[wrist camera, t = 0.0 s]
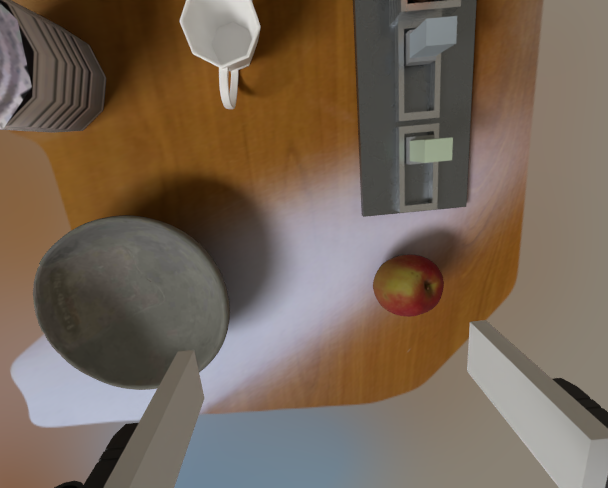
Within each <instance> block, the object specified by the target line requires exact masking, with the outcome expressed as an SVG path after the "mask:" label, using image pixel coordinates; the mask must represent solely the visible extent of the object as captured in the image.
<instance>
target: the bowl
mask: <svg viewBox="0 0 608 488" xmlns="http://www.w3.org/2000/svg"><path fill="white" fill-rule="evenodd" d="M39 264H40V266H39V267H38V269H37V273H36V276H35V280H34V288H33V298H34V307H35V313H36V316H37V319H38V323H39V326H40V327H41V330H42V331H43V332H44V333H45V336H46V338H47V340H48V341H49V343H50V344H51V345H52V347H53V348H54V349H55V350H56V351H57V352H58V353H59V354H60V355H61V356H62V357H63V358H64V359H65V360H66V361H67V362H68V363H69V364H71V365H72V366H73V367H75V368H76V369H78V370H79V371H81V372H83V373H84V374H86V375H88V376H90V377H92V378H94V379H97V380H99V381H101V382H104V383H107V384H109V385H112V386H116V387H121V388H126V389H137V390H145V389H156V388H158V387H159V385H160V383H161V381H162V380H163V378H164V376H165V374H166V372H167V370H168V369H169V367H170V365H171V363H172V361H173V359H174V358H175V356H176V354H177V352H178V351H188V350H194V352H195V356H196V361H197V366H198V371H199V372H200V371H202V370H203V369H204V368H205V367H206V366H207V365H208V364H209V363H210V362H211V361H212V360H213V359H214V357H215V356H216V355H217V353H218V352H219V350H220V348H221V347H222V345H223V342H224V340H225V337H226V334H227V330H228V324H229V316H230V305H229V298H228V293H227V289H226V286H225V282H224V280H223V278H222V275H221V273H220V271H219V269H218V267H217V265H216V264H215V262H214V261H213V259H212V258H211V256H210V255H209V254H208V252H207V251H206V250H205V249H204V248H203V247H202V246H201V245H200V244H199V243H198V242H197V241H196V240H195V239H193V238H192V237H191V236H189V235H188V234H186V233H185V232H183V231H181V230H180V229H178V228H176V227H174V226H172V225H169V224H167V223H164V222H161V221H158V220H154V219H150V218H146V217H139V216H127V215H124V216H112V217H107V218H101V219H97V220H94V221H91V222H88V223H85V224H83V225H81V226H79V227H77V228H75V229H74V230H72V231H70V232H69V233H67V234H66V235H65V236H63V237H62V238H61V239H60V240H58V241H57V242H56V243H55V244H54V245H53V246H52V247H51V248H50V249H49V250H48V251H47V253H46V254H45V255H44V257H43V258H42V259H41V261H40V263H39Z"/></svg>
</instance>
